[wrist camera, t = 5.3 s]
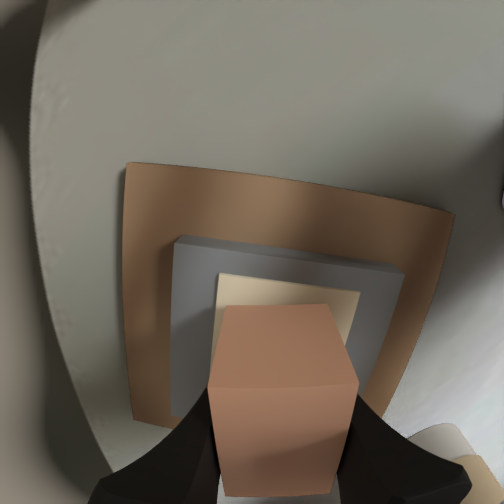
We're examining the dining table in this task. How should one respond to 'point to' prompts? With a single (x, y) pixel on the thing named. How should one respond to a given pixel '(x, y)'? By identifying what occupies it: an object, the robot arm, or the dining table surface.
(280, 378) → the terracotta block
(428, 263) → the base
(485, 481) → the coffee cup
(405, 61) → the dining table surface
